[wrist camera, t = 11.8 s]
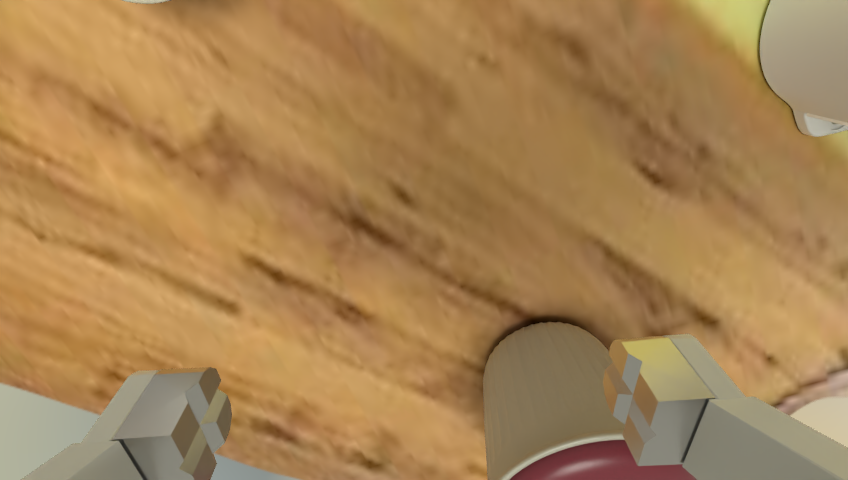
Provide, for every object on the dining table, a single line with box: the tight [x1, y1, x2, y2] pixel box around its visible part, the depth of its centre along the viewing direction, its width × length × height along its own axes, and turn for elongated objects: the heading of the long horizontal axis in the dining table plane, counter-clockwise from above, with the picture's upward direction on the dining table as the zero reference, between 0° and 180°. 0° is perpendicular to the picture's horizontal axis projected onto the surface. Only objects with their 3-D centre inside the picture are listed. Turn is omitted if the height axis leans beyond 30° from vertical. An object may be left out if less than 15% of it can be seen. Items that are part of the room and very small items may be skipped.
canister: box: [483, 322, 697, 480], centre depth 40 cm, size 18×18×21 cm
